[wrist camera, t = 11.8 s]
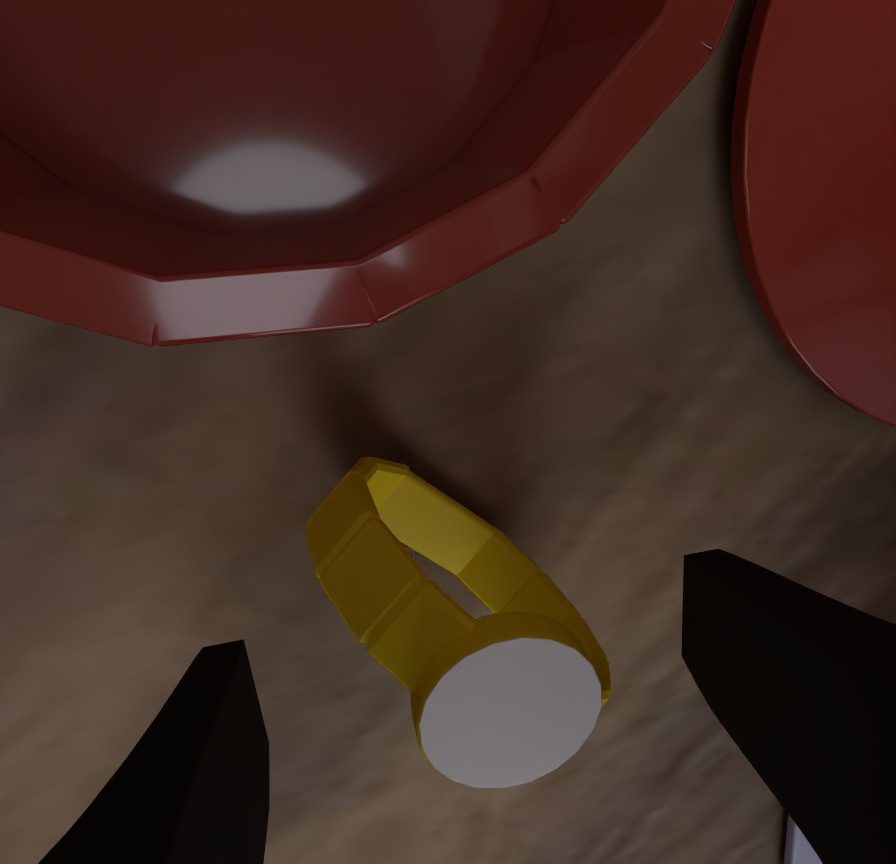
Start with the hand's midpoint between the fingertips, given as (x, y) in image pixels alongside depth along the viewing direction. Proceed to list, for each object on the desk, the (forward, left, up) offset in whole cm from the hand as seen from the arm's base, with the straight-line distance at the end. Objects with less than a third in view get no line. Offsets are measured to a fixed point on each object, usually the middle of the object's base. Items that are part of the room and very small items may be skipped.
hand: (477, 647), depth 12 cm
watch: (0, 0, -5) cm, 5 cm away
